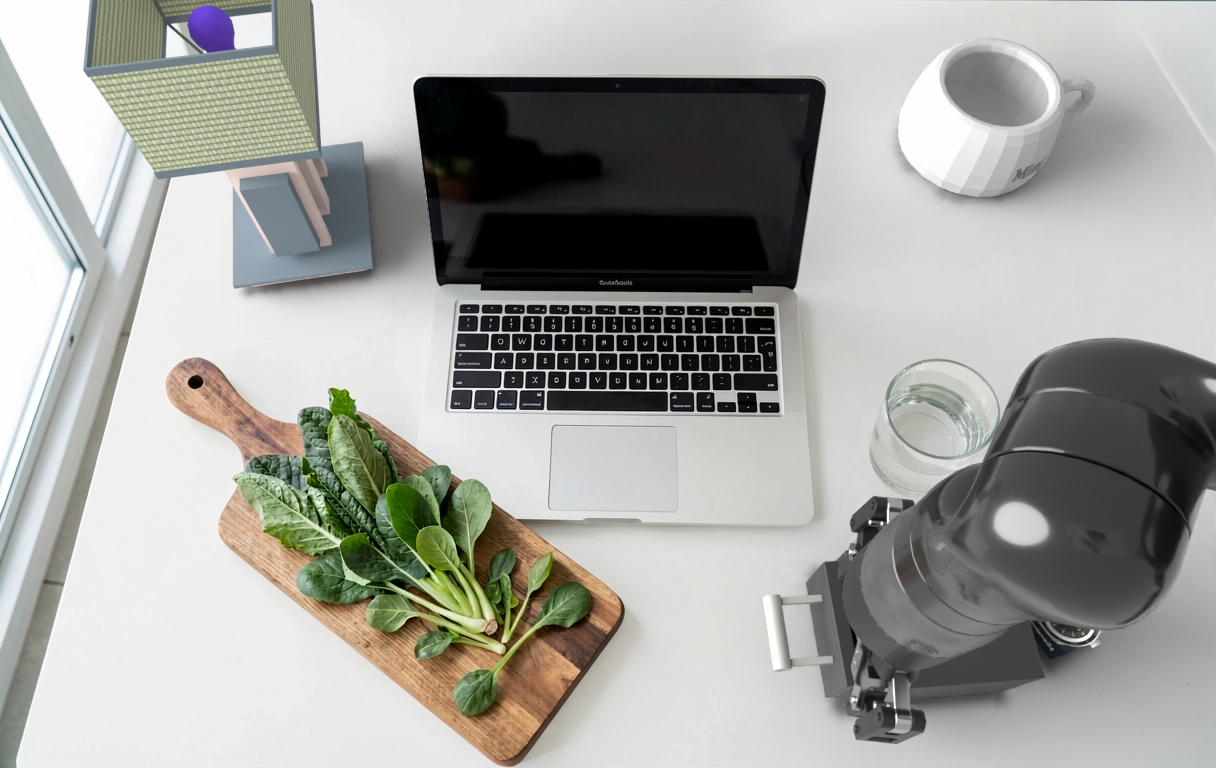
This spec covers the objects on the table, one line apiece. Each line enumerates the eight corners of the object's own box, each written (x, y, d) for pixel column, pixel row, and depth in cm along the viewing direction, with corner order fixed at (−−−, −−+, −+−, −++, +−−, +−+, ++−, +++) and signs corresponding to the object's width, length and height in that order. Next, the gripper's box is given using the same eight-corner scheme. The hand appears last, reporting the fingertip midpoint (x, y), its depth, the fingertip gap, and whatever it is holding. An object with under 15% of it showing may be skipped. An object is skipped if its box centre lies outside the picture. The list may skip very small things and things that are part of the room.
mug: (921, 217, 100) (954, 157, 91) (872, 103, 107) (897, 37, 98) (1100, 186, 102) (1149, 124, 93) (1040, 76, 109) (1080, 10, 100)
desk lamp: (378, 285, 95) (279, 46, 66) (241, 305, 94) (79, 70, 65) (366, 150, 103) (274, -117, 74) (240, 167, 102) (95, -98, 72)
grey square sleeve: (843, 704, 77) (872, 691, 69) (820, 576, 82) (845, 550, 74) (998, 692, 78) (1045, 677, 70) (967, 565, 83) (1007, 538, 75)
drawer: (767, 702, 77) (783, 691, 70) (751, 586, 81) (764, 565, 74) (969, 686, 77) (1003, 674, 71) (942, 572, 82) (972, 550, 75)
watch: (991, 616, 81) (1046, 588, 71) (1058, 571, 83) (1120, 538, 73) (1034, 672, 79) (1096, 651, 69) (1101, 625, 81) (1172, 598, 71)
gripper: (1017, 734, 45) (912, 753, 59) (993, 464, 51) (903, 542, 65) (865, 718, 45) (797, 741, 59) (859, 451, 51) (799, 531, 65)
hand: (852, 637), depth 62 cm, fingers open, 8 cm apart
